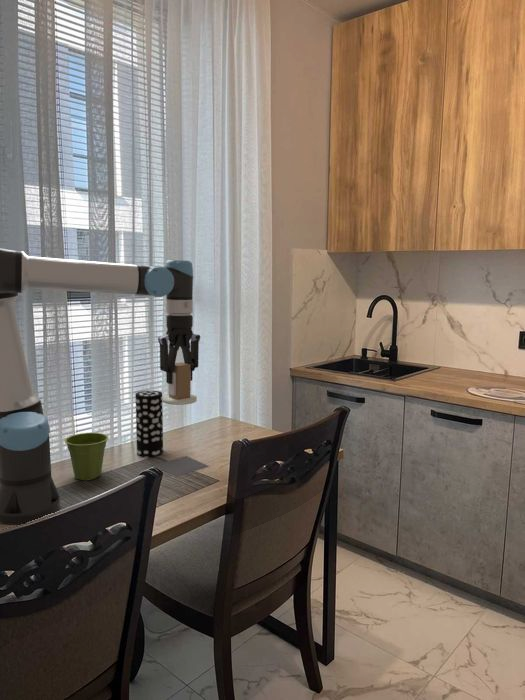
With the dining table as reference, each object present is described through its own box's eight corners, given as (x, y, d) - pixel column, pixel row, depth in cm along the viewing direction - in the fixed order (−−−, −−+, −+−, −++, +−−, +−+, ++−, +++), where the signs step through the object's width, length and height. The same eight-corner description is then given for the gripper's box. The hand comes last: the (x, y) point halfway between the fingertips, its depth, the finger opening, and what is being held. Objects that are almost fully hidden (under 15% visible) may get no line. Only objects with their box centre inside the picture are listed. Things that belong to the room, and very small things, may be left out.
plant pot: (116, 477, 153) (115, 439, 151) (76, 487, 145) (74, 448, 143) (99, 465, 161) (97, 429, 160) (59, 474, 154) (58, 437, 152)
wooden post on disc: (175, 406, 151) (175, 368, 149) (155, 399, 158) (155, 363, 156) (203, 401, 158) (203, 364, 156) (183, 395, 165) (183, 360, 163)
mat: (176, 477, 153) (176, 476, 152) (153, 466, 161) (153, 465, 161) (209, 467, 161) (209, 466, 161) (186, 457, 169) (186, 455, 169)
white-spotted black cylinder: (166, 450, 175) (165, 391, 172) (159, 459, 167) (157, 397, 164) (141, 449, 176) (140, 390, 173) (133, 458, 168) (131, 396, 165)
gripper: (160, 316, 145) (161, 399, 149) (211, 314, 157) (210, 391, 161) (146, 314, 151) (146, 395, 154) (196, 312, 163) (196, 387, 166)
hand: (179, 392), depth 157 cm, fingers closed on wooden post on disc, 4 cm apart
